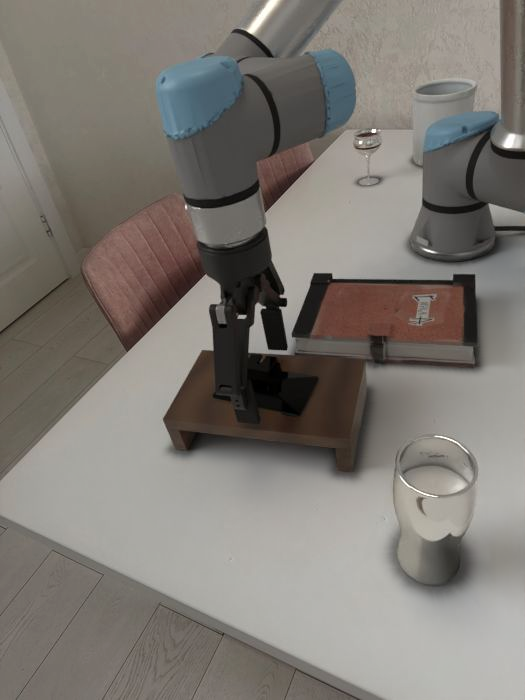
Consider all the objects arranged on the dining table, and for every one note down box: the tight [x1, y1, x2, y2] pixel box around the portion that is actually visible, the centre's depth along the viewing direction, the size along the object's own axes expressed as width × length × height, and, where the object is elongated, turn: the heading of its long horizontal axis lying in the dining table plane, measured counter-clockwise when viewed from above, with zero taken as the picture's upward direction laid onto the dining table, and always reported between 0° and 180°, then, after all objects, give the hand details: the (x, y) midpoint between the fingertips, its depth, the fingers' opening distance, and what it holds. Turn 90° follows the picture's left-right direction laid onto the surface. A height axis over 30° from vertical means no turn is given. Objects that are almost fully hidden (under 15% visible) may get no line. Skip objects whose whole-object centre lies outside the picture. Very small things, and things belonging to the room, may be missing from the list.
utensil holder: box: [411, 77, 478, 167], centre depth 126 cm, size 15×15×18 cm
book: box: [291, 272, 479, 369], centre depth 79 cm, size 26×18×5 cm
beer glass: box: [392, 433, 480, 586], centre depth 46 cm, size 7×7×15 cm
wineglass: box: [353, 127, 383, 186], centre depth 124 cm, size 7×7×12 cm
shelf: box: [162, 349, 368, 473], centre depth 67 cm, size 24×14×6 cm, turn 74°
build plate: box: [212, 352, 318, 417], centre depth 64 cm, size 12×7×5 cm, turn 66°
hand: (264, 382), depth 64 cm, fingers open, 13 cm apart
